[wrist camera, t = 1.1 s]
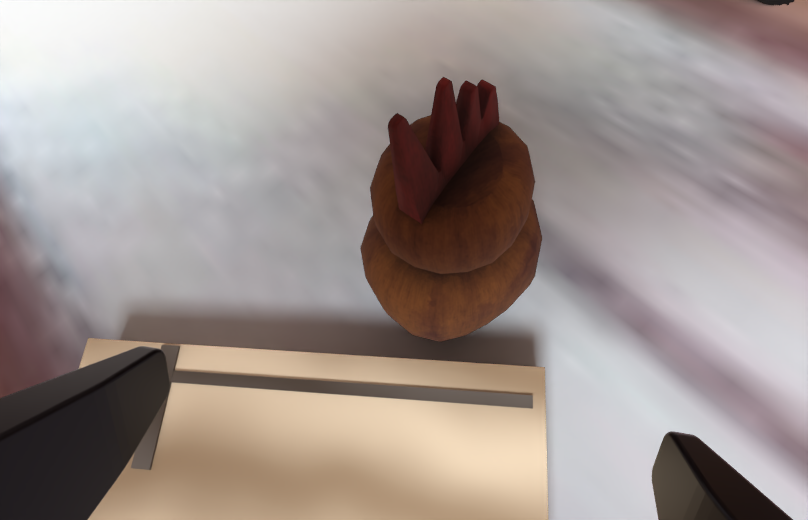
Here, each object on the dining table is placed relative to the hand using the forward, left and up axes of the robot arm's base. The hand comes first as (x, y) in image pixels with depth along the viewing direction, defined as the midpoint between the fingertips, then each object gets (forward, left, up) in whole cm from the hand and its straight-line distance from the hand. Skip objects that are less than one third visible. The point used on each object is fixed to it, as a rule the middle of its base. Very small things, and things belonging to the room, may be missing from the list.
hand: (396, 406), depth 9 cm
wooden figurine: (+7, -1, -14) cm, 15 cm away
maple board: (-3, +5, -14) cm, 15 cm away
